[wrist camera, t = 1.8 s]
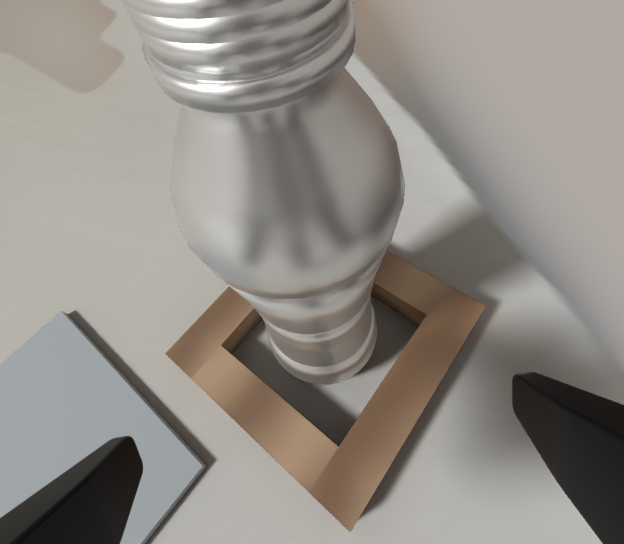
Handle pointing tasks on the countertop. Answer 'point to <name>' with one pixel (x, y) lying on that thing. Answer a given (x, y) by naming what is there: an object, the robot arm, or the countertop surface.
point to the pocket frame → (376, 415)
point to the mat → (83, 425)
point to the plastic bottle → (279, 167)
